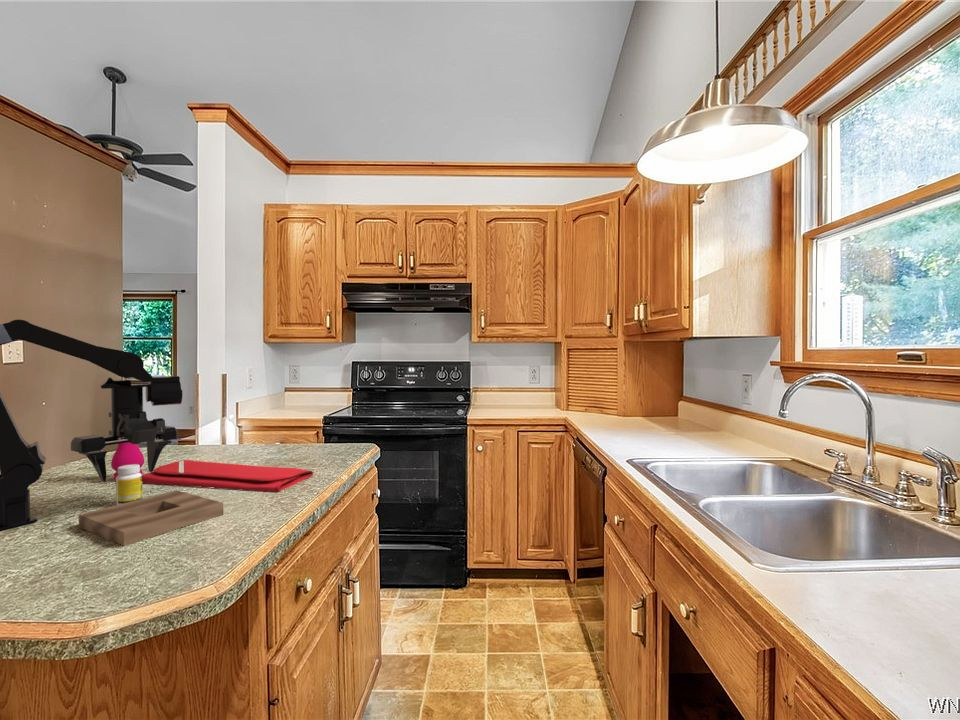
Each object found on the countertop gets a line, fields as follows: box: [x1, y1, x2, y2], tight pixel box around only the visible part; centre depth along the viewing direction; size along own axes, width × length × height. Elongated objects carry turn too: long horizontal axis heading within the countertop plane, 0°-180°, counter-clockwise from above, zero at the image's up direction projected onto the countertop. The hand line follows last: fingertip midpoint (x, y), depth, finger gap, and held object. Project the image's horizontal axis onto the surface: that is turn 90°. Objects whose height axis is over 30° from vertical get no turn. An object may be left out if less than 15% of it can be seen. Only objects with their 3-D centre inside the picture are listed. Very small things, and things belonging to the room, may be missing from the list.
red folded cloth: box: [142, 459, 314, 493], centre depth 124 cm, size 16×41×4 cm, turn 78°
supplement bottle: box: [115, 464, 143, 505], centre depth 105 cm, size 5×5×8 cm
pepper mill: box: [110, 438, 145, 482], centre depth 125 cm, size 7×7×20 cm
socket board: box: [78, 490, 224, 547], centre depth 94 cm, size 18×18×2 cm
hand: (128, 476), depth 104 cm, fingers open, 9 cm apart
